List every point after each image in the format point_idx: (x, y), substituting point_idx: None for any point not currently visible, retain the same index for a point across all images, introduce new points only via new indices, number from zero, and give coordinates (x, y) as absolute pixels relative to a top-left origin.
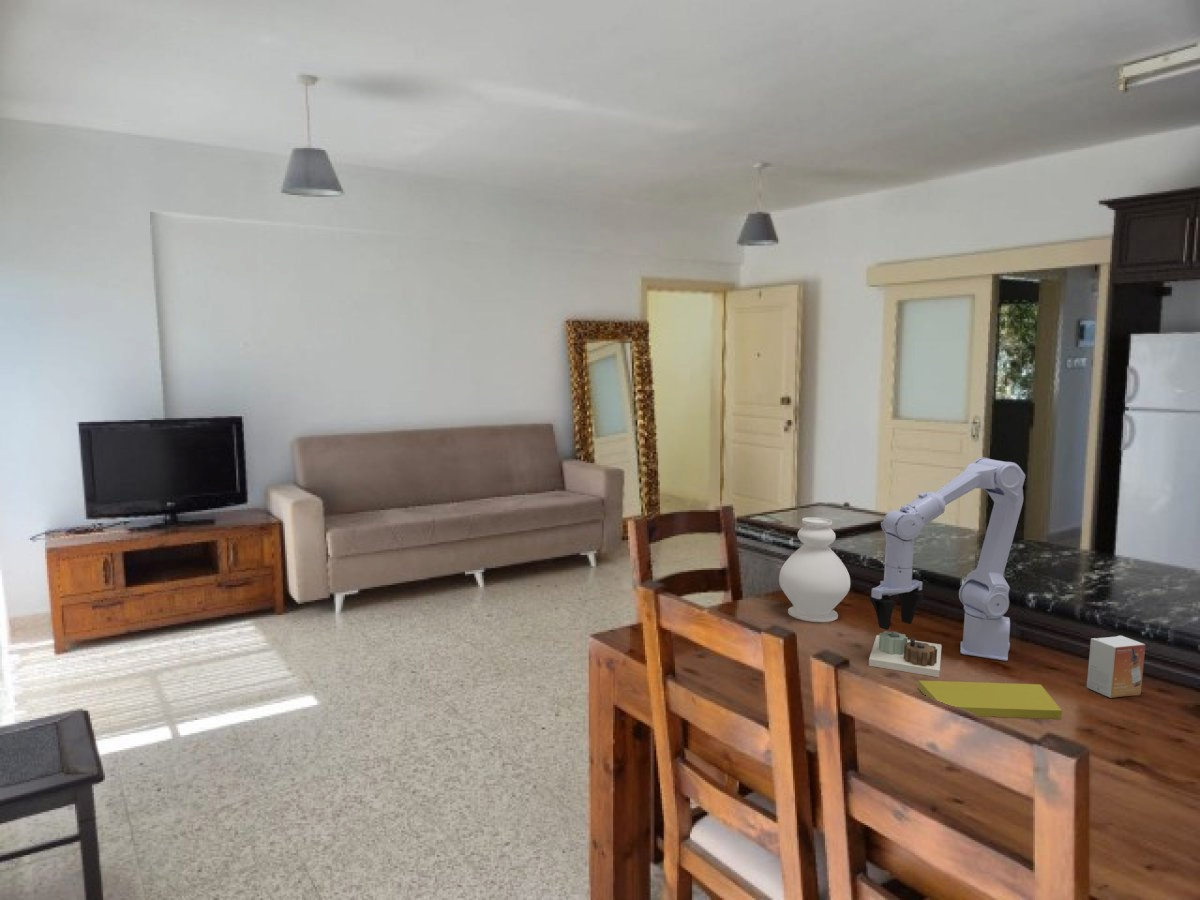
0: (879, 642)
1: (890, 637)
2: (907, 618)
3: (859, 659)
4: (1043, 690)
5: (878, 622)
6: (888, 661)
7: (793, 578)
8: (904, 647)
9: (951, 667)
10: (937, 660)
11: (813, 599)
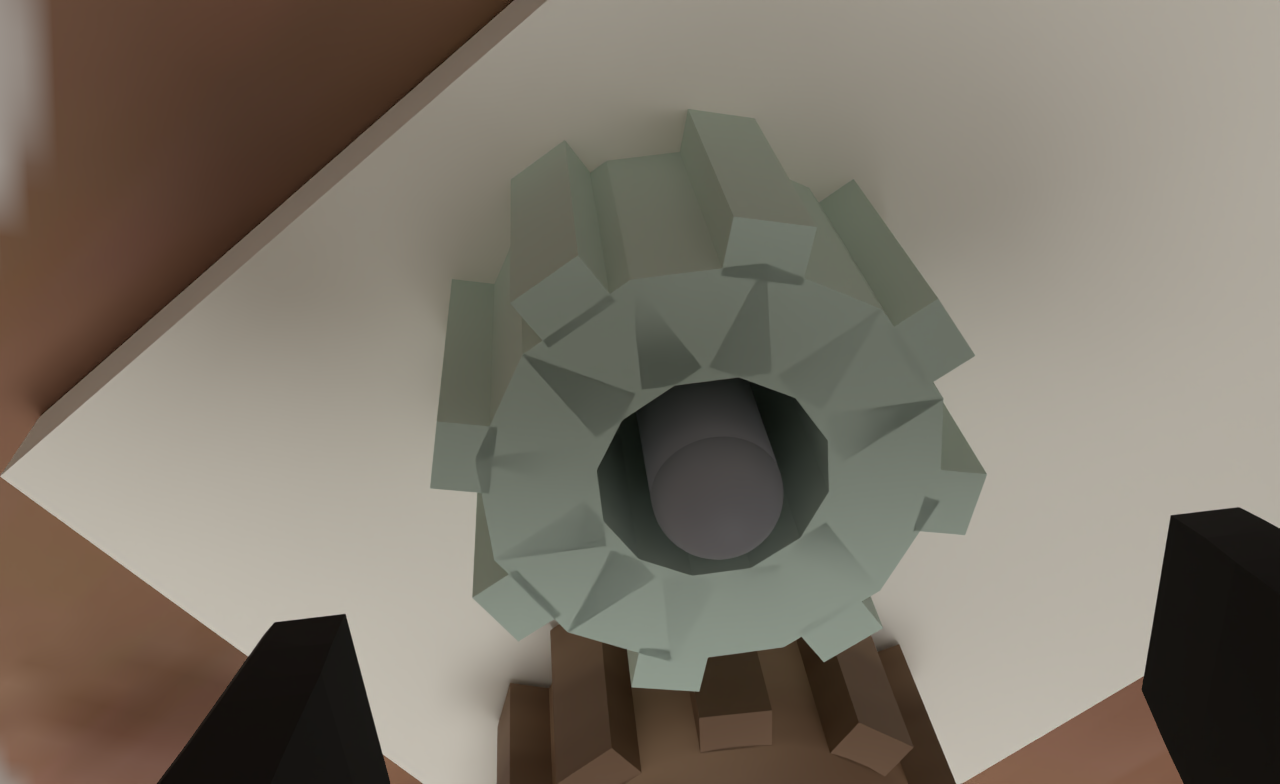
0: (518, 226)
1: (562, 537)
2: (1210, 731)
3: (45, 167)
4: None
5: (219, 703)
6: (248, 634)
7: None
8: (559, 755)
9: (1041, 754)
10: None
11: None
